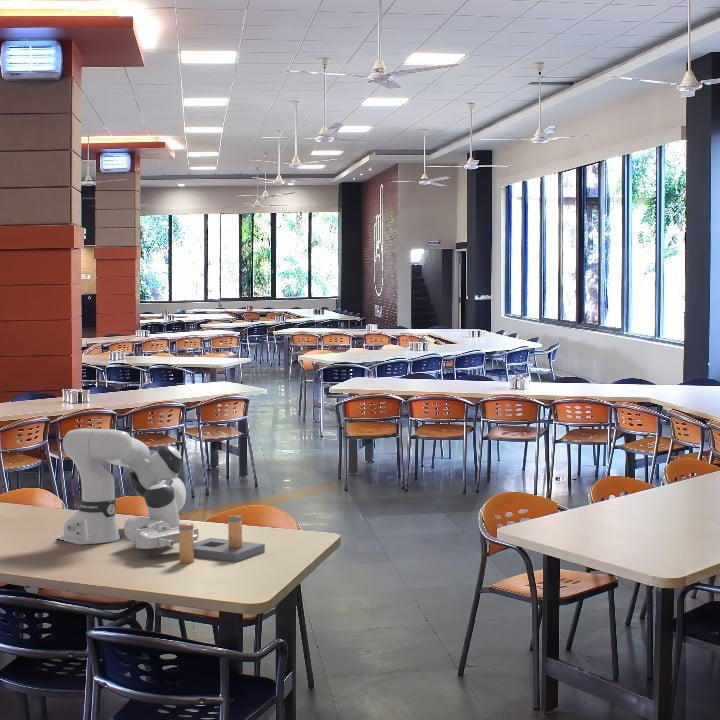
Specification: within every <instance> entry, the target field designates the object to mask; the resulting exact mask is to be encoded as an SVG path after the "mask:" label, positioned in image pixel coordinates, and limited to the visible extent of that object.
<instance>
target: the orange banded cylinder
mask: <svg viewBox="0 0 720 720" xmlns="http://www.w3.org/2000/svg"><path fill="white" fill-rule="evenodd" d="M194 527H195V526H194V523H193V522H182V523H181V522H180V524H179V545H178V546H179V550H178V551H179V564H182V565H183V564H185V565H186V564H193V563H194V562H195V560H194V559H195V557H194V543H195V541H194V538H193V528H194Z"/></svg>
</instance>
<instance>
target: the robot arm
mask: <svg viewBox="0 0 720 720" xmlns="http://www.w3.org/2000/svg"><path fill="white" fill-rule="evenodd" d="M62 449H63V451H64V453H65V455H66V456H67V457H68V458H70V460H71V461H72V462H73V463H74V464H75V467H76V468H77V471H78V474H79V476H80V483H81V484H80V485H81V500H80V501H77V502H76V506H78V509H77V511H76V512H75V513H73V515H72V516H70V517H69V518H67V519H66V520H65V522H64V526H63V533H62V534H59V535H57V536H56V540H57V539H60V540H59V541H61V540H64V541H63V542H66V541H67V543H69V544H75V545H78V546H79V545H80V546H81V545H89V544H90V545H91V544H92V545H93V544H94V545H95V544H103V543H104V544H105V543H106V544H107V543H111V542H116V541H118V540H120V539H121V537H120V531H119V526H118V521H117V514H116V511H117V500H116V498H115V478H114V475H113V474H112V472H110V471H109V470H107V469H106V468H105V466H104V465H103V463H102V462H103V461H104V462H107V463H109V464H111V465H116V466H119V467H124V468H129V469H130V471H129V476H130V477H129V481H130V486H131V488H132V489H133V491H134V492H135V493H136V494H137V495H138V496H140V497H142V498H143V499H144V501H145V504H146V509H147V512H148V517H145V516H140V515H139V516H129V517H128V518H127V519H126V521H125V522H124V526H123V531H124V535H125V537H126V538H127V539H128V540H129V541H132V542H134V543H135V547H136V549H138V550H139V549H140V550H143V549H144V550H151V549H163V548H165V547H173V546H174V545H175V544H178V543H179V524H181V521H180V516H179V511H181V510H182V509H183V507H184V506H185V504H186V499H187V490H186V489H187V488H186V485H185V484H184V482H183V480H182V479H181V478H179V474H180V473H182V472H183V468H182V467H183V456H182V455H181V453H180V451H179V450H178V449H177V448H176V447H174V446H172V445H170V444H163V445H162V446H160V447H158V449H157V450H156V451H155V452H154V453H152V454H150V448H149V447H148V446H147V444H145V443H144V442H143V441H141V440H139V439H137V438H135V437H132V436H131V435H130V433H128V432H126V431H123V430H119V429H115V428H114V429H113V428H112V429H111V428H87V427H86V428H75V429H72V430H69V431H67V433H66V434H65V435H64V437H63V439H62ZM199 534H200V532H199V527H196V526H194V528H193V538H194V542H197V541H198V539H199Z"/></svg>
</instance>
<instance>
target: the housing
mask: <svg viewBox="0 0 720 720" xmlns="http://www.w3.org/2000/svg"><path fill="white" fill-rule="evenodd" d="M227 520H228V521H227V522H228V524H227V526H228V529H227V531H228V532H227V533H228V534H227V535H228V537H227V538H228V539H223V538H216V537H215V538H213V537H209V538H206V539H203V540H199V541H195V542H194V558H202V559H210V560H218V561H226V562H235V563H237V562H240V561H243V560H246V559H248V558H251V557H253V556H257V555H259V554H262V553H265V552H266V546H265V543H258V542H252V541H251V542H250V541H243V516H242V515H239V514H234V515H228V516H227Z"/></svg>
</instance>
